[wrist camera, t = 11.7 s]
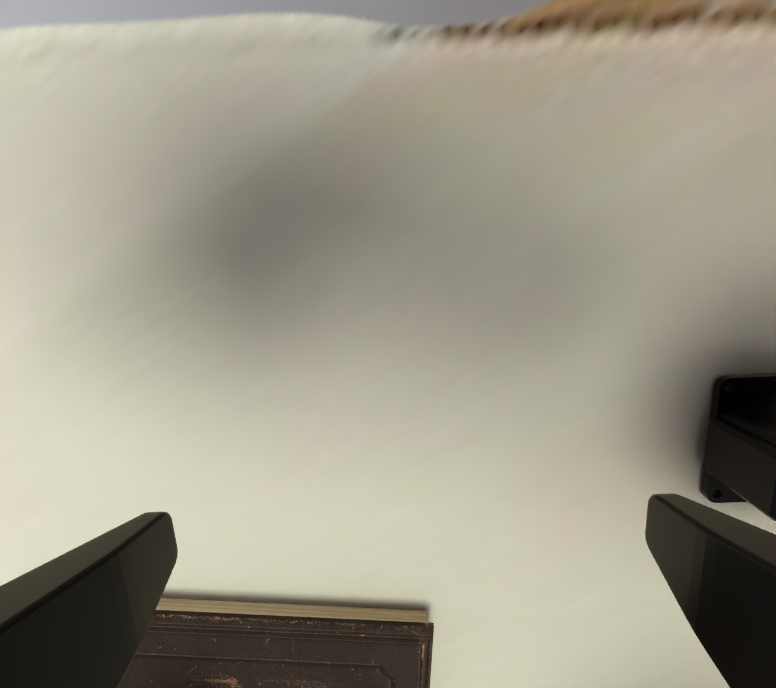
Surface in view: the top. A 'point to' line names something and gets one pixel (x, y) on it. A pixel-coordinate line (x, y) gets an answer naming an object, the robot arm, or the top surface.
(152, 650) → the hardcover book
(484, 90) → the top surface
